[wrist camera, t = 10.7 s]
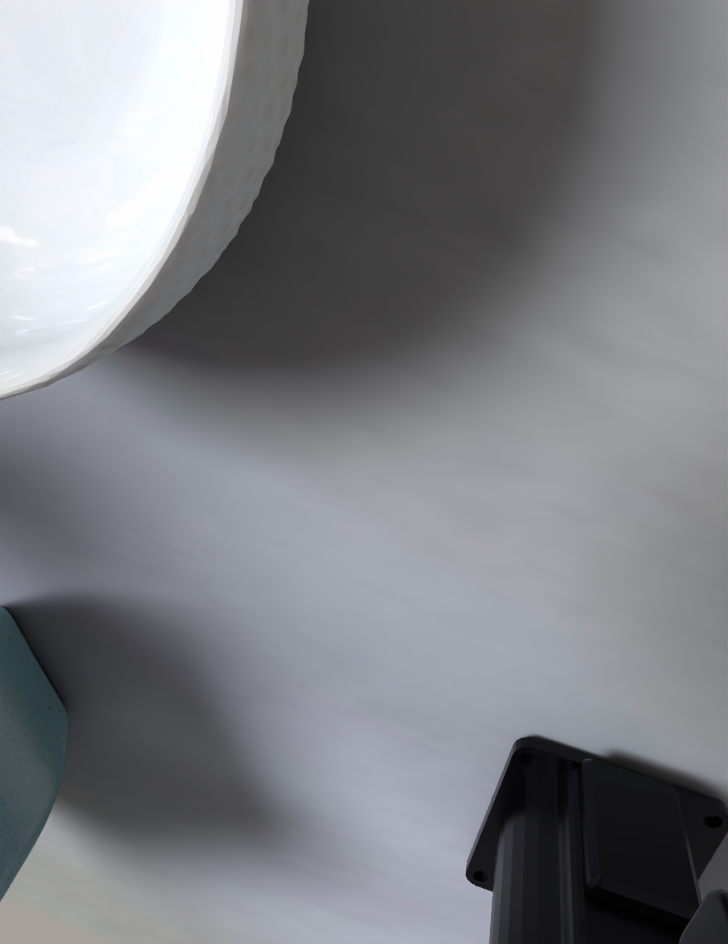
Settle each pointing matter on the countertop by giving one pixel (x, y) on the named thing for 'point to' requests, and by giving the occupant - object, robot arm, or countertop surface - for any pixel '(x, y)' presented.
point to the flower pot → (26, 749)
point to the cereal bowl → (127, 162)
